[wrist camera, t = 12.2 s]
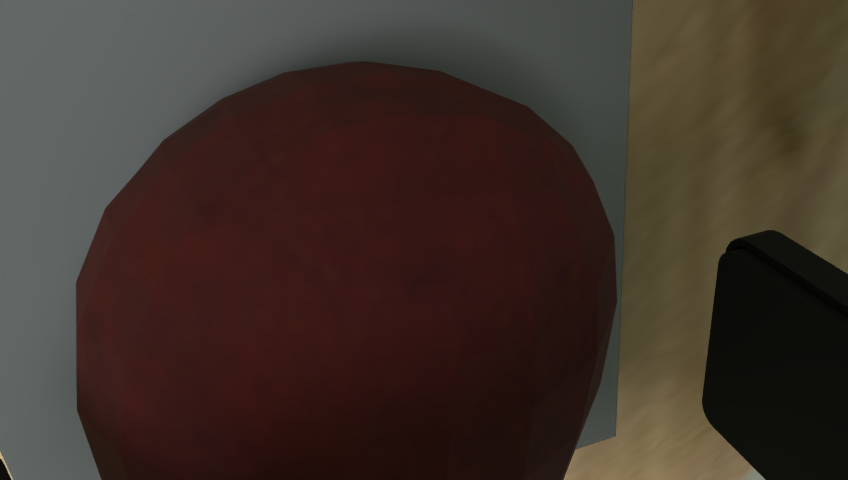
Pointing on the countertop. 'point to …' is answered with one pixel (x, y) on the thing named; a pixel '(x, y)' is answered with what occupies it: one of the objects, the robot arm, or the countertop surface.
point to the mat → (200, 89)
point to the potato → (348, 289)
